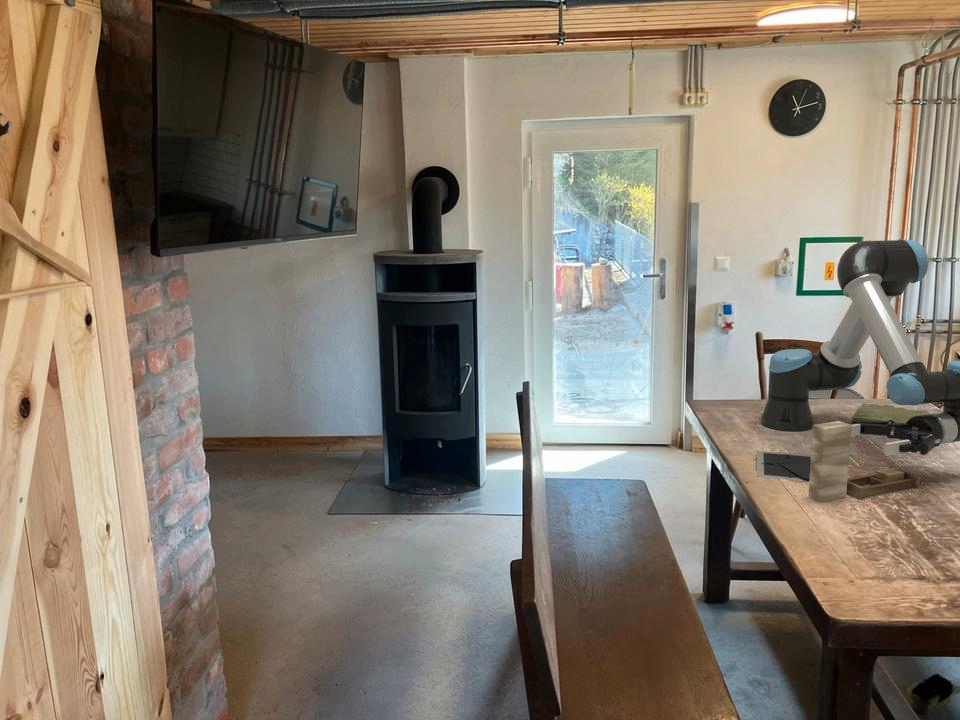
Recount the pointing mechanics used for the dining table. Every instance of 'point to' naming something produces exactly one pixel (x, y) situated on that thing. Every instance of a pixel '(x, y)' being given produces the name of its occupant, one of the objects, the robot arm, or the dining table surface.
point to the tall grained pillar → (829, 461)
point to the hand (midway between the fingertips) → (860, 440)
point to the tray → (880, 485)
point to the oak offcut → (889, 475)
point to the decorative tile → (885, 413)
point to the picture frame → (783, 466)
